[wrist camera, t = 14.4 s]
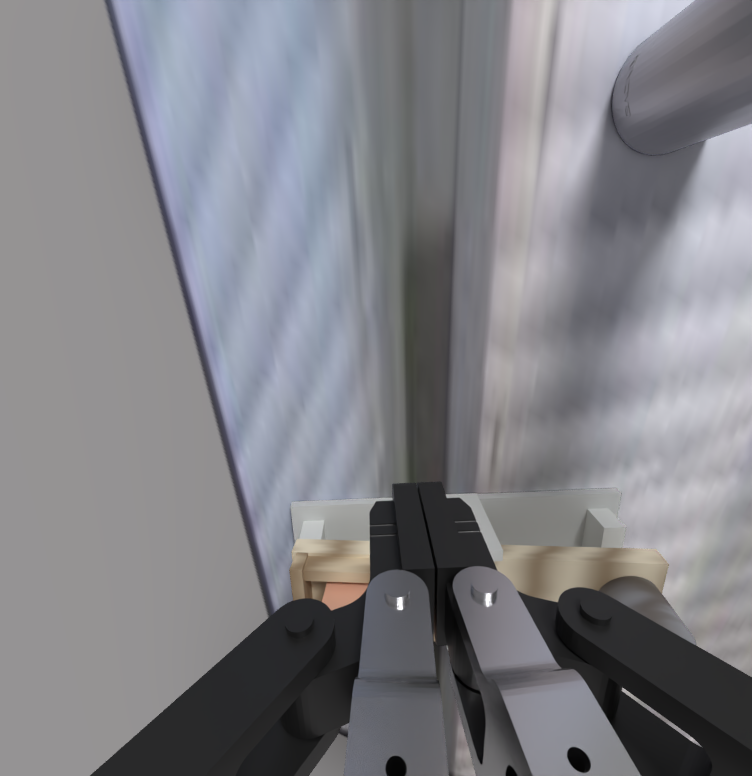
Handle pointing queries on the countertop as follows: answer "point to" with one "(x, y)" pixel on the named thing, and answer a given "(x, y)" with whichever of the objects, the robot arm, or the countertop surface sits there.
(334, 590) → the rider
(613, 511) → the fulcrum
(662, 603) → the beam
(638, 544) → the countertop surface
